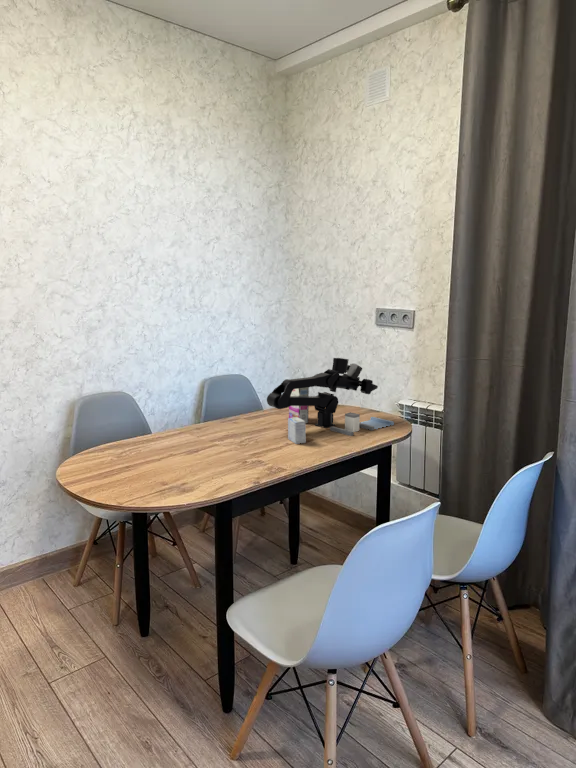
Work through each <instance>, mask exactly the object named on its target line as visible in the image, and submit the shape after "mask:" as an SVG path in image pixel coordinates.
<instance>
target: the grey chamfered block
mask: <svg viewBox="0 0 576 768" xmlns="http://www.w3.org/2000/svg"><path fill="white" fill-rule="evenodd" d="M360 416H361V415H360V413H355V412H347V413H344V429H345V430H349V431H353V433H355V432H358V431H360V427H359V422H360V419H361V418H360Z"/></svg>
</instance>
